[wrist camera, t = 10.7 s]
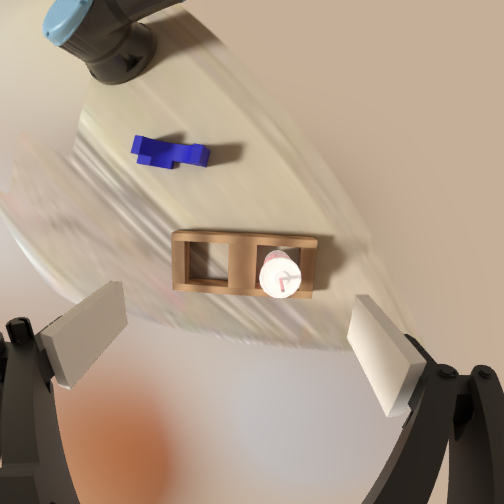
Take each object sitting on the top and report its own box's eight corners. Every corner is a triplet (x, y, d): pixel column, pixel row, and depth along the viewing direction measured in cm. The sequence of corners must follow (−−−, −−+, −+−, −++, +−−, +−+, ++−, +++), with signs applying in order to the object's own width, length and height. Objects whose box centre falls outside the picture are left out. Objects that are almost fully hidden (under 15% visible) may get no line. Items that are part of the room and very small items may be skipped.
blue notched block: (143, 164, 45) (128, 161, 39) (149, 141, 44) (135, 135, 38) (204, 175, 45) (196, 173, 39) (210, 150, 44) (203, 144, 38)
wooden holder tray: (178, 283, 49) (172, 289, 46) (177, 230, 47) (171, 233, 44) (308, 291, 49) (311, 298, 45) (313, 237, 47) (317, 240, 43)
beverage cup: (252, 260, 48) (248, 287, 34) (279, 238, 47) (286, 257, 33) (274, 286, 49) (278, 321, 35) (301, 265, 48) (316, 293, 34)
